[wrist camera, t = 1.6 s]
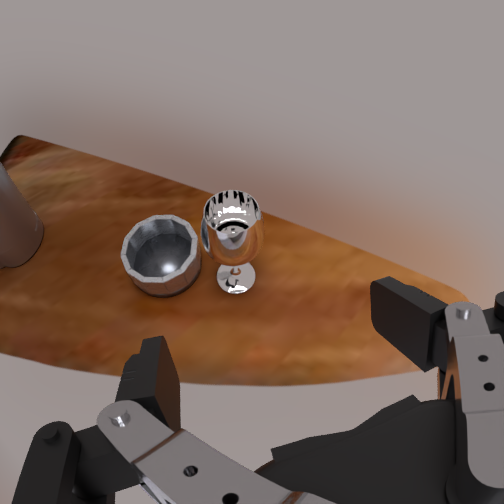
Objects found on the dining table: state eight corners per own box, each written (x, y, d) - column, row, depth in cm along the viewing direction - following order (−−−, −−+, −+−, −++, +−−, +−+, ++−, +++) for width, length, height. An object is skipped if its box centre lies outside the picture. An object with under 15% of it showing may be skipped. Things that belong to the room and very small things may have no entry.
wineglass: (237, 245, 39) (234, 175, 29) (271, 277, 37) (280, 212, 27) (200, 274, 37) (183, 210, 27) (234, 309, 35) (227, 253, 24)
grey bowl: (147, 310, 34) (136, 296, 31) (123, 253, 38) (113, 235, 35) (214, 276, 37) (210, 259, 33) (183, 223, 41) (178, 204, 37)
